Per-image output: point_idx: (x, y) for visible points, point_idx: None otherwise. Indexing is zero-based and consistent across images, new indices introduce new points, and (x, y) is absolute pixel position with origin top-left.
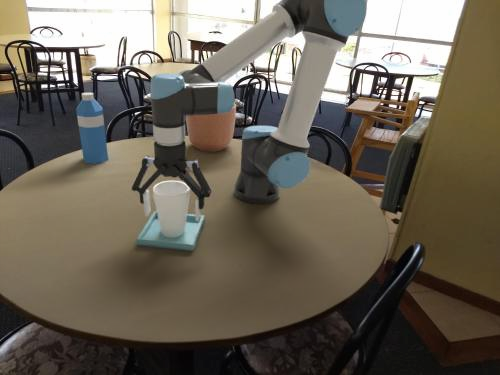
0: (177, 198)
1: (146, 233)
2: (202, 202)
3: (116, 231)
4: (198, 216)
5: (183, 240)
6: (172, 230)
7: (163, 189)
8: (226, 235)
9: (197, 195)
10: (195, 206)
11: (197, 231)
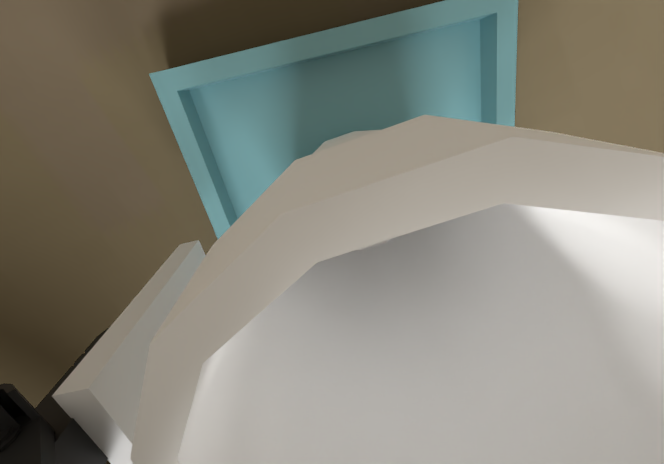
0: (218, 263)
1: (480, 117)
2: (63, 379)
3: (645, 86)
4: (167, 266)
5: (262, 135)
6: (329, 141)
7: (558, 416)
8: (114, 268)
9: (23, 456)
10: (142, 316)
11: (212, 213)
